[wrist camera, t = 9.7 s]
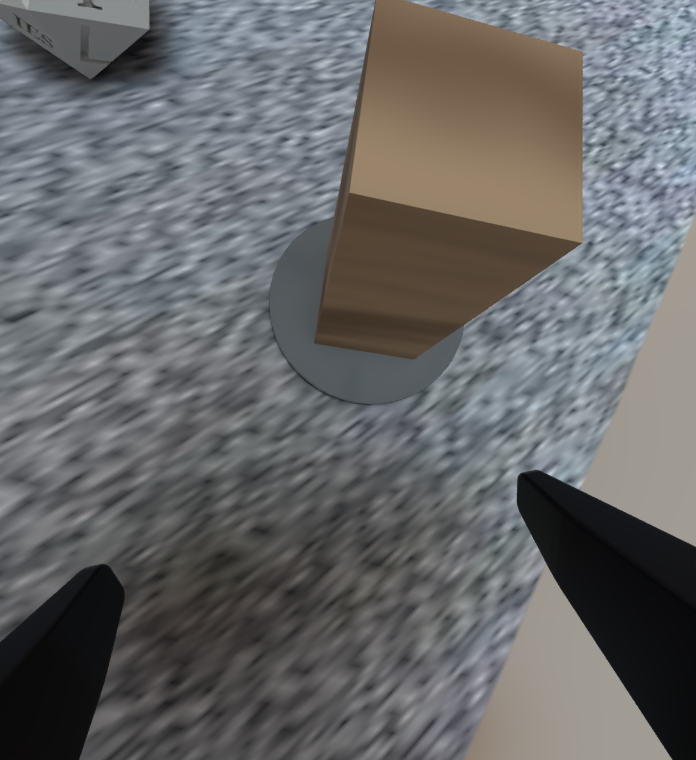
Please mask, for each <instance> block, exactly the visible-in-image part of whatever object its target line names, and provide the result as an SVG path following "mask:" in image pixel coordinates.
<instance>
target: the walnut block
mask: <svg viewBox="0 0 696 760" xmlns="http://www.w3.org/2000/svg"><path fill="white" fill-rule="evenodd" d="M582 99H583V52H581V51H578V50H574V49H571V48H567V47H564V46H560V45H557V44H554V43H550V42H547V41H543V40H540V39H536V38H533V37H529V36H526V35H523V34H519V33H516V32H512V31H509V30H505V29H502V28H498V27H495V26H491V25H488V24H485V23H481V22H478V21H474V20H471V19H467V18H464V17H460V16H457V15H453V14H450V13H447V12H443V11H440V10H436V9H433V8H429V7H426V6H422V5H419V4H415V3H412V2H409V1H405V0H376V1H375V6H374V11H373V17H372V22H371V27H370V32H369V38H368V43H367V48H366V53H365V58H364V64H363V69H362V74H361V79H360V85H359V90H358V95H357V100H356V105H355V111H354V116H353V121H352V126H351V132H350V137H349V142H348V147H347V153H346V158H345V163H344V168H343V173H342V179H341V184H340V189H339V194H338V200H337V205H336V210H335V215H334V220H333V226H332V231H331V236H330V241H329V247H328V253H327V259H326V266H325V273H324V280H323V287H322V294H321V300H320V307H319V314H318V321H317V328H316V335H315V341H314V344H320V345H326V346H332V347H339V348H345V349H351V350H357V351H363V352H370V353H376V354H382V355H388V356H394V357H400V358H407V359H413V360H414V359H415V358H417V357H418V356H420V355H421V354H423V353H424V352H426V351H427V350H428V349H430V348H431V347H433V346H434V345H436V344H437V343H439V342H440V341H441V340H443V339H444V338H446V337H447V336H449V335H450V334H452V333H453V332H454V331H456V330H457V329H459V328H460V327H462V326H463V325H465V324H466V323H467V322H469V321H470V320H472V319H473V318H475V317H476V316H478V315H479V314H480V313H482V312H483V311H485V310H486V309H488V308H489V307H491V306H492V305H493V304H495V303H496V302H498V301H499V300H501V299H502V298H504V297H505V296H506V295H508V294H509V293H511V292H512V291H514V290H515V289H517V288H518V287H519V286H521V285H522V284H524V283H525V282H527V281H528V280H530V279H531V278H532V277H534V276H535V275H537V274H538V273H540V272H541V271H543V270H544V269H545V268H547V267H548V266H550V265H551V264H553V263H554V262H556V261H557V260H559V259H560V258H561V257H563V256H564V255H566V254H567V253H569V252H570V251H572V250H573V249H574V248H576V247H577V246H579V245H580V244H582Z"/></svg>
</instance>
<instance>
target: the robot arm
mask: <svg viewBox="0 0 696 760" xmlns="http://www.w3.org/2000/svg"><path fill="white" fill-rule="evenodd" d="M517 506H518V509H519V512H520V514H521V516H522V518H523V520H524V521H525V523H526V525H527V527H528V529H529V531H530V533H531V535H532V537H533V539H534V541H535V543H536V544H537V546H538V548H539V550H540V552H541V554H542V556H543V558H544V560H545V562H546V564H547V566H548V568H549V569H550V571H551V573H552V575H553V577H554V578H555V580H556V582H557V583H558V585H559V587H560V588H561V590H562V591H563V593H564V594H565V596H566V597H567V599H568V601H569V602H570V604H571V605H572V607H573V608H574V610H575V611H576V612H577V614H578V616H579V617H580V619H581V621H582V622H583V623H584V625H585V627H586V628H587V630H588V631H589V633H590V634H591V636H592V637H593V639H594V640H595V642H596V644H597V645H598V647H599V648H600V650H601V651H602V653H603V654H604V656H605V657H606V659H607V660H608V662H609V663H610V665H611V666H612V668H613V670H614V671H615V672H616V674H617V676H618V677H619V678H620V680H621V682H622V683H623V685H624V686H625V688H626V689H627V691H628V692H629V694H630V696H631V697H632V699H633V700H634V701H635V703H636V705H637V706H638V708H639V709H640V711H641V712H642V714H643V715H644V717H645V719H646V720H647V722H648V723H649V725H650V726H651V728H652V729H653V731H654V732H655V734H656V735H657V737H658V738H659V740H660V742H661V743H662V745H663V746H664V748H665V749H666V751H667V752H668V754H669V755H670V757H671V758H672V760H696V547H695V546H693V545H691V544H689V543H687V542H685V541H683V540H681V539H678V538H677V537H675V536H672V535H670V534H668V533H666V532H664V531H662V530H660V529H658V528H656V527H654V526H652V525H650V524H648V523H646V522H644V521H642V520H640V519H638V518H636V517H634V516H632V515H630V514H627V513H626V512H623V511H621V510H619V509H617V508H615V507H613V506H611V505H609V504H607V503H605V502H603V501H601V500H599V499H597V498H595V497H592V496H591V495H588V494H587V493H584V492H583V491H581V490H579V489H576V488H574V487H572V486H570V485H568V484H566V483H564V482H562V481H560V480H558V479H556V478H554V477H552V476H550V475H548V474H546V473H544V472H542V471H539V470H533V471H528V472H523V473H521V474H519V476H518V479H517ZM124 597H125V593H124V588H123V586H122V585H121V583H120V582H119V580H118V579H117V577H116V576H115V574H114V573H113V571H112V570H111V568H110V567H109V566H108V565H106V564H99V565H95V566H90V567H87V568H84V569H82V570H81V571H80V572H79V573H78V574H76V575H75V576H74V577H73V578H72V579H71V580H70V581H69V582H67V583H66V584H65V585H64V586H63V587H62V588H61V589H60V590H58V591H57V592H56V593H55V594H54V595H53V596H52V597H50V598H49V599H48V600H47V601H46V602H45V603H44V604H43V605H41V606H40V607H39V608H38V609H37V610H36V611H35V612H34V613H32V614H31V615H30V616H29V617H28V618H27V619H26V620H25V621H23V622H22V623H21V624H20V625H19V626H18V627H17V628H15V629H14V630H13V631H12V632H11V633H10V634H9V635H8V636H6V637H5V638H4V639H3V640H2V641H1V642H0V760H79V758H80V755H81V752H82V749H83V746H84V743H85V740H86V737H87V734H88V731H89V728H90V725H91V722H92V719H93V716H94V713H95V710H96V707H97V704H98V701H99V698H100V695H101V691H102V688H103V685H104V682H105V678H106V674H107V670H108V667H109V662H110V658H111V654H112V650H113V645H114V641H115V637H116V633H117V629H118V624H119V620H120V616H121V612H122V607H123V603H124Z"/></svg>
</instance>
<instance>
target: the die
mask: <svg viewBox="0 0 696 760" xmlns="http://www.w3.org/2000/svg"><path fill="white" fill-rule="evenodd" d="M0 19H2V20H3V21H5V22H6V23H8V24H9V25H11V26H12V27H14V28H15V29H17V30H18V31H19V32H21V33H22V34H24V35H25V36H27V37H28V38H30V39H31V40H33V41H34V42H36V43H37V44H39V45H40V46H42V47H43V48H45V49H46V50H48V51H49V52H51V53H52V54H53V55H55V56H56V57H58V58H59V59H61V60H62V61H64V62H65V63H67V64H68V65H70V66H71V67H73V68H74V69H76V70H77V71H79V72H80V73H82V74H83V75H84V76H86V77H87V78H89V79H90V80H91V79H92V78H93V77H95V76H96V75H97V74H98V73H99V72H100V71H102V70H103V69H104V68H105V67H106V66H107V65H109V64H110V63H111V62H112V61H113V60H114V59H116V58H117V57H118V56H119V55H120V54H121V53H123V52H124V51H125V50H126V49H127V48H128V47H129V46H131V45H132V44H133V43H134V42H135V41H136V40H138V39H139V38H140V37H141V36H142V35H143V34H145V33H146V32H147V31H148V30H149V0H0Z"/></svg>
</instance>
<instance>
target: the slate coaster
mask: <svg viewBox="0 0 696 760" xmlns="http://www.w3.org/2000/svg"><path fill="white" fill-rule="evenodd" d="M333 220H334V217H332V218H330V219H327V220H324V221H322V222H320V223H318V224H316V225H314V226H312V227H310V228H309V229H307V230H306V231H304V232H303V233H302V234H301V235H299V236H298V237H297V238H296V239H295V240H294V241H293V242H292V243H291V244H290V246H289V247H288V248H287V249H286V251H285V252H284V254H283V255H282V257H281V259H280V260H279V262H278V265H277V267H276V269H275V272H274V275H273V278H272V282H271V287H270V296H269V305H270V316H271V322H272V328H273V331H274V335H275V338H276V341H277V343H278V345H279V347H280V349H281V351H282V353H283V355H284V356H285V358H286V359H287V361H288V363H289V364H290V365H291V366H292V367H293V369H294V370H295V371H296V372H297V373H298V374H299V375H300V376H301V377H302V378H303V379H304V380H305V381H306V382H308V383H309V384H310V385H312V386H313V387H315V388H316V389H318V390H319V391H321V392H323V393H325V394H327V395H329V396H331V397H334V398H337V399H339V400H342V401H346V402H351V403H355V404H366V405H372V404H384V403H390V402H394V401H398V400H401V399H404V398H406V397H409V396H411V395H413V394H415V393H417V392H419V391H421V390H423V389H424V388H426V387H427V386H429V385H430V384H431V383H433V382H434V381H435V380H436V379H437V378H438V377H439V376H440V375H441V374H442V373H443V372H444V371H445V369H446V368H447V367H448V366H449V364H450V362H451V361H452V359H453V357H454V356H455V354H456V351H457V349H458V347H459V344H460V341H461V337H462V334H463V327H464V325H463V326H462V327H460V328H459V329H457V330H456V331H454V332H453V333H452V334H450V335H449V336H447V337H446V338H444V339H443V340H441V341H440V342H439V343H437V344H436V345H434V346H433V347H431V348H430V349H428V350H427V351H426V352H424V353H423V354H421V355H420V356H418V357H417V358H415V359H414V360H413V359H407V358H400V357H394V356H388V355H382V354H376V353H370V352H363V351H357V350H351V349H345V348H339V347H332V346H326V345H320V344H314V341H315V335H316V328H317V321H318V314H319V307H320V300H321V294H322V287H323V280H324V273H325V266H326V259H327V253H328V247H329V241H330V236H331V231H332V226H333Z"/></svg>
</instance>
